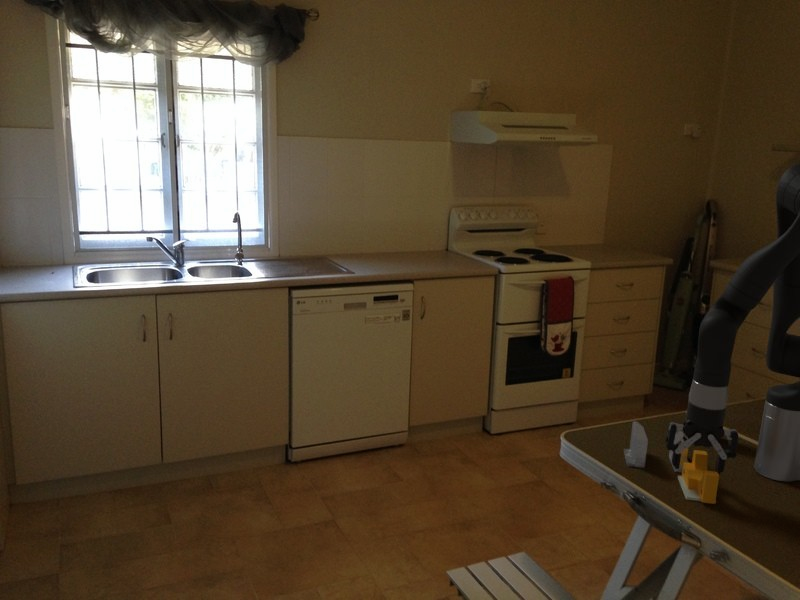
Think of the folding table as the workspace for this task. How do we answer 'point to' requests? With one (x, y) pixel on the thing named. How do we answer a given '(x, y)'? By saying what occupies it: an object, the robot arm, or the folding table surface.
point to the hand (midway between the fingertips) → (696, 470)
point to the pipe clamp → (701, 477)
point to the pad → (689, 491)
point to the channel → (639, 448)
